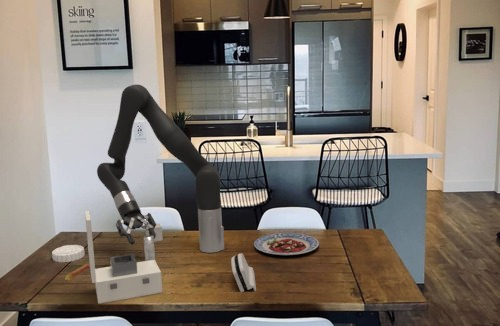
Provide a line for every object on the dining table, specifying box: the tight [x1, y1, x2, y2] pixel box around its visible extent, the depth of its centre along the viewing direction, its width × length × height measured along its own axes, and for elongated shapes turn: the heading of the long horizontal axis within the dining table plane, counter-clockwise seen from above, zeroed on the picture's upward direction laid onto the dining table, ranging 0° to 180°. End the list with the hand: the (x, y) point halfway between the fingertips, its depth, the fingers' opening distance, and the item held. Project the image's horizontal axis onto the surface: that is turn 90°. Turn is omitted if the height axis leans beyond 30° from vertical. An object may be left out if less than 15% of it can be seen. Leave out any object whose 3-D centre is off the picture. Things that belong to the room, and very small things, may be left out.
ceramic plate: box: [253, 232, 320, 256], centre depth 201 cm, size 26×26×3 cm
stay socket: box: [109, 253, 137, 277], centre depth 163 cm, size 8×8×4 cm
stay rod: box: [142, 234, 156, 261], centre depth 183 cm, size 4×4×12 cm
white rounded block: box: [230, 253, 257, 293], centre depth 169 cm, size 17×5×10 cm, turn 2°
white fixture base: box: [84, 210, 163, 304], centre depth 162 cm, size 21×13×27 cm, turn 110°
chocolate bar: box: [64, 262, 90, 281], centre depth 181 cm, size 3×12×2 cm, turn 161°
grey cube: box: [145, 223, 164, 242], centre depth 217 cm, size 6×6×6 cm
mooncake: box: [51, 244, 85, 263], centre depth 199 cm, size 12×12×4 cm
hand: (143, 241), depth 185 cm, fingers open, 8 cm apart
